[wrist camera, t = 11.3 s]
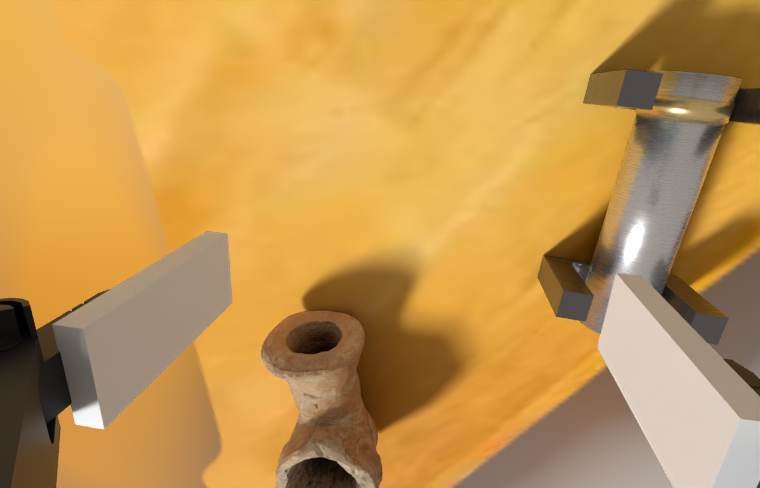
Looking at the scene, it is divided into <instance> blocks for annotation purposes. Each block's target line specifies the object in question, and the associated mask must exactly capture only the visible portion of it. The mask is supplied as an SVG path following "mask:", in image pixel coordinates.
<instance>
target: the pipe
mask: <svg viewBox="0 0 760 488" xmlns="http://www.w3.org/2000/svg"><path fill="white" fill-rule="evenodd" d="M364 342H365V332H364V328H363V326H362V324H361V323H360V322H359V321H358V320H357V319H355V318H354V317H352V316H350V315H348V314H344V313H340V312H333V311H327V310H318V311H304V312H300V313H296V314H293V315H291V316H289V317H287V318H286V319H284V320H283V321H282V322H280V323H279V324H278V325H277V326H276V327H275V328H274V329H273V330H272V331H271V332H270V333H269V335H268V336H267V338H266V339H265V341H264V344H263V346H262V350H261V358H262V360H263V362H264V364H265V366H266V368H267V369H268V371H270V372H271V373H272V374H273V375H275V376H277V377H279V378H282V379H284V380H285V381H287V382H288V384H289V387H290V389H291V392H292V394H293V397H294V400H295V403H296V406H297V408H298V410H299V412H300V414H299V417H298V420H297V423H296V426H295V428H294V430H293V433H292V435H291V438H290V440H289V441H288V442H287V444H286V445H285V446H284V448H283V450H282V452H281V455H280V457H279V462H278V468H277V470H276V479H277V483H276V488H379V485H380V482H381V481H382V464H381V460H380V456H379V454H378V453H377V451H376V445H377V440H378V435H377V428H376V425H375V422H374V420H373V418H372V416H371V415H370V413H369V412H368V411H367V410H366V407H365V405H364V402H363V399H362V398H361V388H360V380H359V376H358V373H357V369H356V367H357V365H358V362H359V359H360V356H361V353H362V350H363V346H364Z"/></svg>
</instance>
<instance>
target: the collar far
mask: <svg viewBox="0 0 760 488" xmlns="http://www.w3.org/2000/svg"><path fill="white" fill-rule="evenodd" d="M590 265H591V263H589V262H583V261H577V260H571V259H564V258H558V257H552V256H546V255H543V259H542V263H541V266H540V270H539V274H538V279H539V281H540V283H541V285H542V288H543V290H544V292H545V294H546V296H547V298H548V300H549V303H550V305H551V307H552V309H553V311H554V313H555V315H556V317H562V318H567V319H573V320H579V321H585V322H586V320H587V317H588V313H589V310H590V307H591V304H592V301H593V297H594V295H593V293H592V292H591V291H590V289H589V288H588V286H587V285H586V283H585V281H586V278H587V275H588V272H589V268H590ZM661 296H662V297H663V298H664V299H665V300H666V301H667V302H668V303H669V304H670V305H671V306H672V307H673V308H674V309H675V310H676V311H677V312H678V313H679V315H680V316H681V317H682V318H683V319H684V320H685V321H686V322H687V323H688V324H689V325H690V326H691V327H692V328H693V329H694V330H695V331H696V332H697V333H698V334H699V335H700V336H701V337H702V338H703V339H704V340H705V341H706V342H707V343H710V344H716V345H717V344H718V342H719V340H720V337H721V335H722V333H723V330H724V328H725V326H726V323H727V321H728V317H726V316H725V315H724V314H723V313H721V312H720V311H719V310H718V309H717V308H715V307H714V306H713V305H712V304H710V303H709V302H708V301H707V300H705V299H704V298H703V297H702V296H701V295H699V294H698V293H697V292H696V291H695V290H693V289H692V288H691V287H690V286H688V285H687V284H686V283H685V282H683V281H682V280H681V279H680V278H679V277H676V276H670V275H669V276H668V279H667V282H666V284H665V287H664V290H663V292H662V295H661Z"/></svg>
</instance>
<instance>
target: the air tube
mask: <svg viewBox="0 0 760 488" xmlns="http://www.w3.org/2000/svg"><path fill="white" fill-rule="evenodd" d="M650 72H655V73H663V77H662V80H661V83H660V86H659V89H658V93H657V96H656V99H655V102H654V105H653V109H652V110H644V109H636V112H637V114H636V117H635V121H634V124H633V127H632V131H631V134H630V137H629V140H628V144H627V147H626V150H625V153H624V157H623V160H622V163H621V167H620V170H619V173H618V176H617V180H616V183H615V186H614V190H613V193H612V196H611V199H610V203H609V206H608V209H607V212H606V216H605V219H604V222H603V226H602V229H601V232H600V235H599V239H598V242H597V245H596V249H595V252H594V255H593V258H592V262H591V265H590V268H589V272H588V275H587V278H586V281H585V283H586V285H587V286H588V288H589V289H590V291H591V292H592V293H593V295H594V297H593V301H592V304H591V307H590V310H589V313H588V317H587V320H586V322H585V321H580V322H581V323H582V324H583V325H585V326H586V327H588V328H589V329H591V330H593V331H595V332H597V333H599V334H601V331H602V327H603V323H604V319H605V315H606V311H607V307H608V303H609V299H610V295H611V291H612V287H613V283H614V279H615V275H616V273H620V274H629V275H639V276H642V277H643V278H644V279H645V280H646V281H647V282H648V283H649V284H650V285H651V286H652V287H653V288H654V289H655V290H656V291H657V292H658V293H659V294H660V295H662V292H663V290H664V287H665V284H666V282H667V279H668V276H669V274H670V271H671V268H672V266H673V263H674V260H675V258H676V255H677V252H678V250H679V247H680V244H681V242H682V239H683V236H684V234H685V231H686V228H687V225H688V223H689V220H690V217H691V215H692V212H693V209H694V207H695V204H696V201H697V199H698V196H699V193H700V191H701V188H702V185H703V183H704V180H705V177H706V175H707V172H708V169H709V167H710V164H711V161H712V159H713V156H714V153H715V151H716V148H717V145H718V143H719V140H720V137H721V135H722V132H723V129H724V127H725V124H728V121H729V119H730V116H731V113H732V111H733V108H734V105H735V104H734V103H733V102H734V100H735V97H736V94H737V92H738V89H739V86H740V84H741V81H742V79H741V78H737V77H731V76H725V75H717V74H708V73H697V72H684V71H650Z"/></svg>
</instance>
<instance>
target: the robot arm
mask: <svg viewBox="0 0 760 488" xmlns="http://www.w3.org/2000/svg"><path fill="white" fill-rule="evenodd" d="M231 303H232V289H231V276H230V262H229V248H228V234H227V233H218V232H208V231H207V232H205V233H204V234H202V235H200V236H199V237H197V238H195V239H194V240H192V241H190V242H189V243H187V244H185V245H184V246H182V247H180V248H179V249H177V250H175V251H174V252H172V253H170V254H169V255H167V256H166V257H164V258H162V259H160V260H159V261H157V262H156V263H154V264H152V265H150V266H149V267H147V268H146V269H144V270H142V271H141V272H139V273H137V274H135V275H134V276H132V277H131V278H129V279H127V280H126V281H124V282H122V283H120V284H119V285H117V286H115V287H114V288H112V289H109V290H106V291H103V292H101V293H98V294H96V295H95V296H93V297H91V298H90V299H88V300H86V301H85V302H84V304H80V305H78V306H76V307H74V308H73V309H72V311H68V312H66V313H64V314H63V315H61V316H60V317H58V318H56V319H54V320H52V321H51V322H49V323H47V324H46V325H44V326H43V327H41V328H39V329H37V330H36V327H35V323H34V319H33V316H32V311H31V308H30V304H29V301H26V300H24V299H19V298H5V299H0V488H56V482H57V469H58V454H59V440H60V424H59V420H58V416H57V415H58V414H59V413H60V412H62V411H63V410H64V409H65V408H67V407H68V406H69V405H70V404H71V408H72V412H73V416H74V420H75V424H76V425H82V426H88V427H94V428H100V429H105V428H106V427H107V426H108V425H109V424H110V423H111V422H112V421H113V420H114V419H115V418H116V417H117V416H118V415H119V414H120V413H121V412H122V411H123V410H124V409H125V408H126V407H127V406H128V405H129V404H130V403H131V402H132V401H133V400H134V399H135V398H136V397H137V396H138V395H139V394H140V393H141V392H142V391H143V390H144V389H145V388H146V387H147V386H149V384H151V383H152V382H153V381H154V380H155V379H156V378H157V377H158V376H159V375H160V374H161V373H162V372H163V371H164V370H165V369H166V368H167V367H168V366H169V365H170V364H171V363H172V362H173V361H174V360H175V359H176V358H177V357H178V356H179V355H180V354H181V353H182V352H183V351H184V350H185V349H186V348H187V347H188V346H189V345H190V344H191V343H192V342H193V341H194V340H195V339H196V338H197V337H198V336H199V335H200V334H201V333H202V332H203V331H204V330H205V329H206V328H207V327H208V326H209V325H210V324H211V323H212V322H213V321H214V320H215V319H216V318H217V317H218V316H219V315H220V314H221V313H222V312H223V311H224V310H225V309H226V308H227V307H228V306H229V305H230V304H231ZM597 348H598V350H599V352H600V353H601V355H602V357H603V359H604V361H605V363H606V364H607V366H608V368H609V370H610V372H611V374H612V375H613V377H614V379H615V381H616V383H617V385H618V386H619V388H620V390H621V392H622V394H623V396H624V398H625V399H626V401H627V403H628V405H629V407H630V408H631V410H632V412H633V414H634V416H635V418H636V420H637V421H638V423H639V425H640V427H641V429H642V431H643V432H644V434H645V436H646V438H647V440H648V442H649V444H650V445H651V447H652V449H653V451H654V453H655V454H656V456H657V458H658V460H659V462H660V464H661V466H662V467H663V469H664V471H665V473H666V475H667V477H668V479H669V480H670V482H671V484H672V486H673V488H760V379H759V378H758V377H757V376H756V375H755V374H754V373H752V372H751V371H749V370H747V369H746V368H744V367H743V366H741V365H739V364H738V363H736V362H734V361H733V360H728V359H722V358H721V357H720V356H719V354H718V353H717V352H716V351H715V350H714V349H713V348H712V347H711V346H710V345H709V344H708V343H707V342H706V341H705V340H704V339H703V338H702V337H701V336H700V335H699V334H698V333H697V332H696V331H695V330H694V329H693V328H692V327H691V326H690V325H689V324H688V323H687V322H686V321H685V320H684V319H683V318H682V317H681V316H680V315H679V313H678V312H677V311H676V310H675V309H674V308H673V307H672V306H671V305H670V304H669V303H668V302H667V301H666V300H665V299H664V298H663V297H662V296H661V295H660V294H659V293H658V292H657V291H656V290H655V289H654V288H653V287H652V286H651V285H650V284H649V283H648V282H647V281H646V280H645V279H644V278H643V277H642V276H639V275H629V274H620V273H616V275H615V279H614V283H613V287H612V291H611V295H610V299H609V303H608V307H607V311H606V315H605V319H604V323H603V327H602V331H601V334H600V338H599V342H598V346H597Z"/></svg>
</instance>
